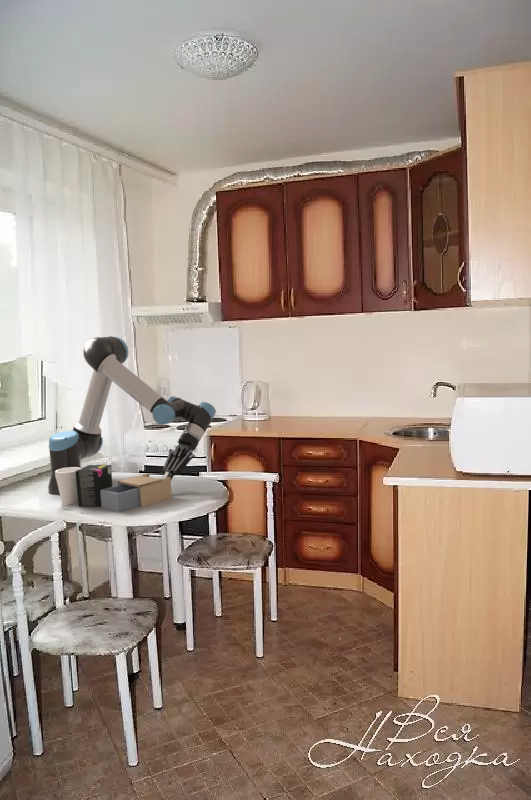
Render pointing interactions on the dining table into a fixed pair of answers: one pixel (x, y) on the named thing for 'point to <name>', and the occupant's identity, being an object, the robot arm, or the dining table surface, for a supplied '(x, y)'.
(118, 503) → the drawer tray
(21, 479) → the dining table surface
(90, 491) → the tampon box
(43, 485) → the dining table surface
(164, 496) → the mailer sleeve
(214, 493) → the dining table surface
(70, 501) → the foam cup
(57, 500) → the dining table surface
